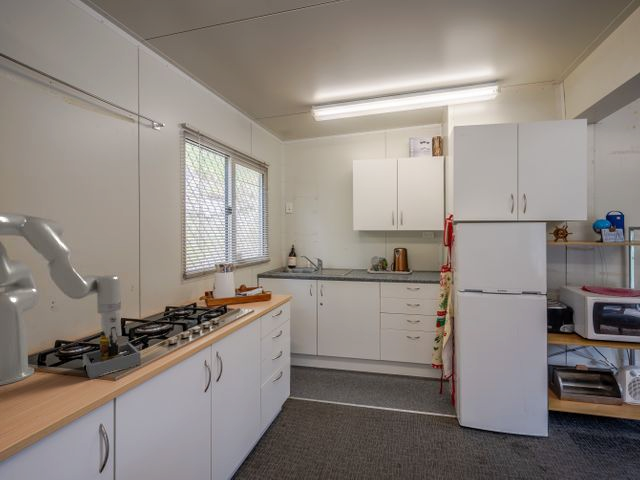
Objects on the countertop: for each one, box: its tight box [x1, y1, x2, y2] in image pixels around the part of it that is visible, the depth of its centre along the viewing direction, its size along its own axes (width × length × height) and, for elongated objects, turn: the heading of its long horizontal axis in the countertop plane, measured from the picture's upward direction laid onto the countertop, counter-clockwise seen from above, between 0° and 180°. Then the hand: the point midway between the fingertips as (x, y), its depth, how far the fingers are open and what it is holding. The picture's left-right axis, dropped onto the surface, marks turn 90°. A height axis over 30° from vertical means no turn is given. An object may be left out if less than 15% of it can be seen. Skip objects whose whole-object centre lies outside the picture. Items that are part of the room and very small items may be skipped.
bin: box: [82, 342, 142, 380], centre depth 120 cm, size 16×15×5 cm
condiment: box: [99, 330, 124, 362], centre depth 120 cm, size 7×8×12 cm
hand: (111, 352), depth 120 cm, fingers closed on condiment, 6 cm apart
